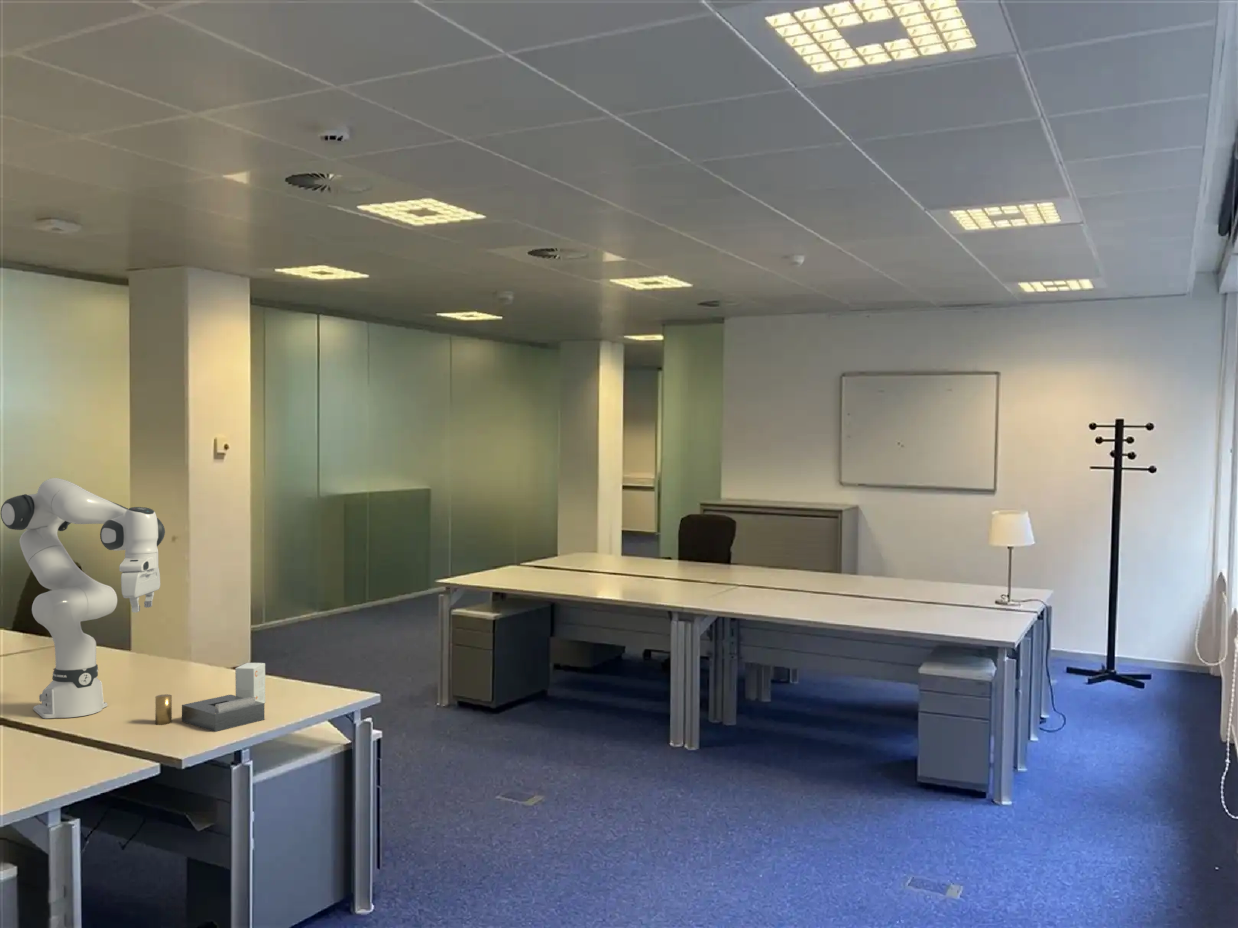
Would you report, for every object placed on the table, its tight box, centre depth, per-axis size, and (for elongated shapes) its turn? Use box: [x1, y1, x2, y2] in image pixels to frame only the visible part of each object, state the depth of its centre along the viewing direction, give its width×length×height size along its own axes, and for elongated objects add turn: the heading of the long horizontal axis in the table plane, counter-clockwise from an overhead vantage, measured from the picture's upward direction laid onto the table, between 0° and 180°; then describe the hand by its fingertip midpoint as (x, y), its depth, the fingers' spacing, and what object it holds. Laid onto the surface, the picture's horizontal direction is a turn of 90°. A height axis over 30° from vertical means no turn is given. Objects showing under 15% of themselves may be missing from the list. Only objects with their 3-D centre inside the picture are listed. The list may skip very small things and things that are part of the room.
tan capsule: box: [154, 693, 173, 726], centre depth 290 cm, size 4×4×8 cm
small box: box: [234, 662, 266, 704], centre depth 310 cm, size 8×6×13 cm
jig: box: [181, 694, 265, 733], centre depth 293 cm, size 18×16×7 cm
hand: (142, 609), depth 286 cm, fingers open, 8 cm apart
